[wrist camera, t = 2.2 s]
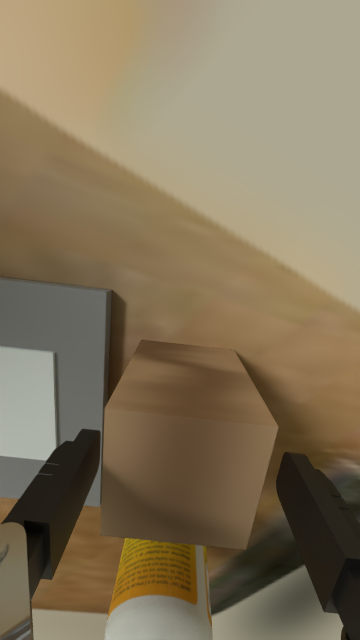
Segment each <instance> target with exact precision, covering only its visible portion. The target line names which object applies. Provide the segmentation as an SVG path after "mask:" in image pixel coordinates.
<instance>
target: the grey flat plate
mask: <svg viewBox="0 0 360 640" xmlns="http://www.w3.org/2000/svg"><path fill="white" fill-rule="evenodd" d="M111 301H112V290H110V289H101V288H92V287H84V286H75V285H66V284H57V283H49V282H40V281H31V280H23V279H14V278H5V277H0V497H5V498H15V499H20V497H21V496H22V494H23V493H24V492H25V490H26V489H27V487H28V486H29V485H30V483H31V482H32V480H33V479H34V478H35V476H36V475H38V472H39V470H40V469H41V468H42V466H43V465H45V462H46V461H47V459H48V458H49V456H50V455H51V454H52V452H53V451H54V450H55V449H56V448H57V447H58V446H60V445H61V444H62V443H64V442H65V441H74V440H75V438H76V437H77V435H78V433H79V432H80V430H81V429H92V430H100V432H101V443H100V463H99V468H98V471H97V474H96V477H95V479H94V482H93V484H92V486H91V489H90V491H89V493H88V496H87V498H86V501H85V503H84V505H85V506H94V507H100V505H101V502H102V475H103V445H104V415H105V407H106V405H107V403H108V382H109V355H110V328H111Z"/></svg>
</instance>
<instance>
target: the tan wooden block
mask: <svg viewBox="0 0 360 640" xmlns="http://www.w3.org/2000/svg"><path fill="white" fill-rule="evenodd" d="M278 428H279V427H278V425H277V423H276V422H275V420H274V418H273V416H272V415H271V413H270V411H269V409H268V408H267V406H266V404H265V402H264V401H263V399H262V397H261V396H260V394H259V392H258V390H257V389H256V387H255V385H254V383H253V382H252V380H251V378H250V376H249V375H248V373H247V371H246V370H245V368H244V366H243V364H242V363H241V361H240V359H239V357H238V356H237V354H236V352H235V351H234V350H228V349H219V348H210V347H201V346H192V345H183V344H174V343H165V342H156V341H147V340H141V342H140V344H139V346H138V347H137V349H136V351H135V353H134V355H133V357H132V359H131V360H130V362H129V364H128V366H127V368H126V370H125V372H124V373H123V375H122V377H121V379H120V381H119V383H118V385H117V386H116V388H115V390H114V392H113V394H112V396H111V398H110V399H109V401H108V403H107V405H106V407H105V415H104V445H103V475H102V505H101V536H111V537H121V538H131V539H141V540H151V541H161V542H171V543H181V544H191V545H201V546H211V547H221V548H232V549H242V550H246V549H247V545H248V541H249V537H250V534H251V530H252V526H253V522H254V518H255V515H256V511H257V507H258V503H259V500H260V496H261V492H262V488H263V484H264V481H265V477H266V473H267V469H268V465H269V462H270V458H271V454H272V450H273V446H274V443H275V439H276V435H277V431H278Z"/></svg>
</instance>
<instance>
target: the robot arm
mask: <svg viewBox="0 0 360 640" xmlns="http://www.w3.org/2000/svg"><path fill="white" fill-rule="evenodd" d="M100 443H101V432H100V430H92V429H81V430H80V432H79V433H78V435H77V437H76V438H75V440H74V441H65V442H64V443H62V444H61V445H60V446H58V447H57V448H56V449H55V450H54V451H53V452H52V454H51V455H50V456H49V458H48V459H47V461H46V462H45V465H43V466H42V468H41V469H40V470H39V472H38V475H36V476H35V478H34V479H33V480H32V482H31V483H30V485H29V486H28V487H27V489H26V490H25V492H24V493H23V494H22V496H21V497H20V499H19V500H18V502H17V503H16V504H15V506H14V507H13V509H12V510H11V511H10V513H9V514H8V516H7V517H6V518H5V520H4V521H3V522H2V523H1V524H0V640H34V639H33V622H32V604H31V599H32V597H33V595H34V593H35V590H36V588H37V586H38V584H39V582H40V579H49V580H52V578H53V576H54V574H55V571H56V569H57V567H58V564H59V562H60V559H61V557H62V555H63V552H64V550H65V548H66V545H67V543H68V541H69V538H70V536H71V534H72V531H73V529H74V526H75V524H76V522H77V519H78V517H79V515H80V512H81V510H82V508H83V505H84V503H85V501H86V498H87V496H88V493H89V491H90V489H91V486H92V484H93V482H94V479H95V477H96V474H97V471H98V468H99V463H100ZM276 488H277V494H278V497H279V500H280V502H281V505H282V507H283V510H284V512H285V515H286V518H287V520H288V523H289V525H290V528H291V530H292V533H293V535H294V538H295V540H296V543H297V545H298V548H299V550H300V553H301V555H302V558H303V561H304V563H305V566H306V568H307V571H308V573H309V576H310V578H311V581H312V583H313V586H314V588H315V591H316V593H317V596H318V598H319V601H320V603H321V605H322V608H323V611H324V612H329V613H338V614H339V616H340V618H341V621H342V623H343V625H344V626H343V629H342V633H341V640H360V524H359V522H358V521H357V519H356V518H355V516H354V515H353V513H352V512H351V511H350V510H349V507H348V506H347V504H346V503H345V501H344V500H343V499H342V498H341V495H340V494H339V492H338V491H337V489H336V488H335V486H334V485H333V483H332V482H331V481H330V480H329V479H328V478H327V477H326V476H325V475H324V474H323V473H322V472H321V471H320V470H316V469H314V467H313V466H312V464H311V463H310V461H309V459H308V458H307V456H306V455H304V454H299V453H290V452H285V453H284V455H283V458H282V461H281V465H280V469H279V472H278V476H277V480H276Z"/></svg>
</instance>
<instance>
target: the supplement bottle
mask: <svg viewBox="0 0 360 640" xmlns="http://www.w3.org/2000/svg"><path fill="white" fill-rule="evenodd" d="M105 640H212V620H211V606H210V593H209V579H208V567H207V553H206V546H201V545H191V544H181V543H171V542H161V541H151V540H141V539H131V538H125V542H124V546H123V551H122V556H121V560H120V565H119V570H118V574H117V579H116V584H115V588H114V592H113V597H112V601H111V605H110V609H109V614H108V618H107V625H106V630H105Z"/></svg>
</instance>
